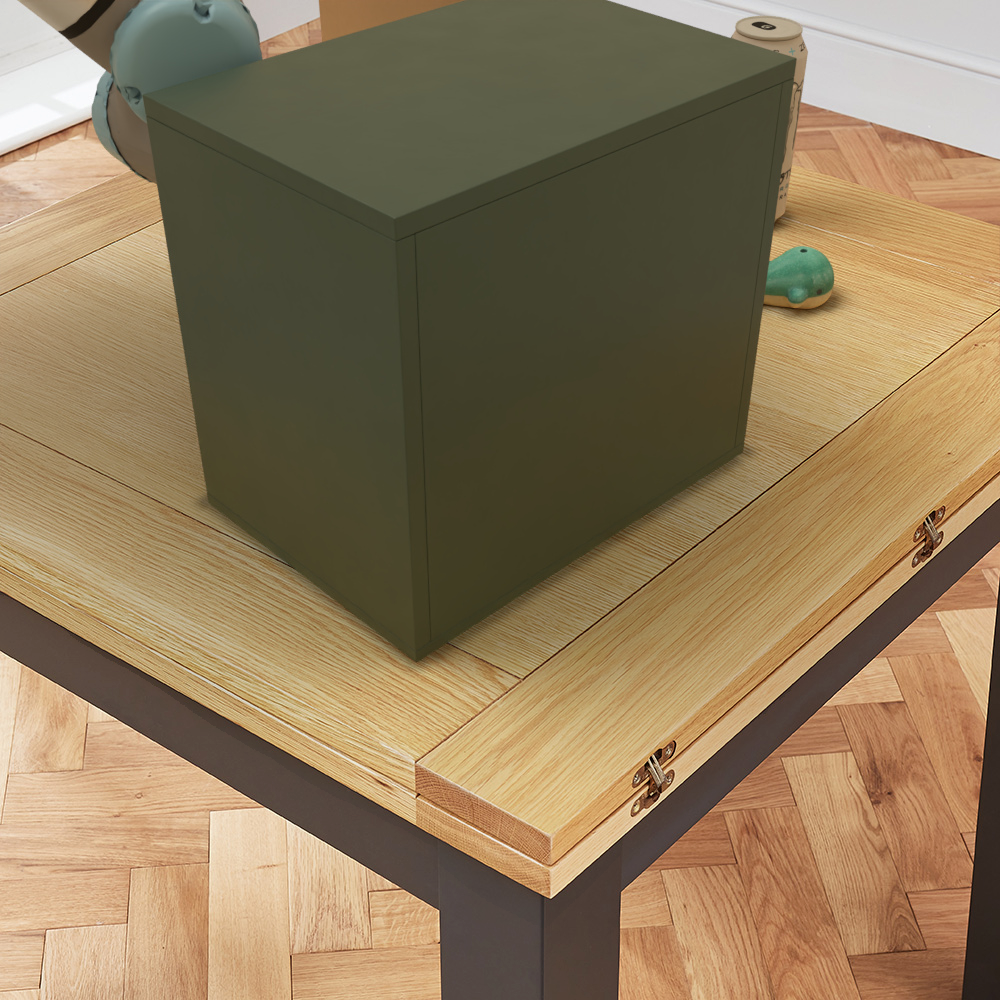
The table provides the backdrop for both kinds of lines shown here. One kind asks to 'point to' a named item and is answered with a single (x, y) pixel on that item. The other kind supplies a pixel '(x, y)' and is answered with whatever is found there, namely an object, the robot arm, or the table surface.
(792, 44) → the energy drink can
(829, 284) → the whale figurine
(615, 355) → the cabinet
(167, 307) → the table surface
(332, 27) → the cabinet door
